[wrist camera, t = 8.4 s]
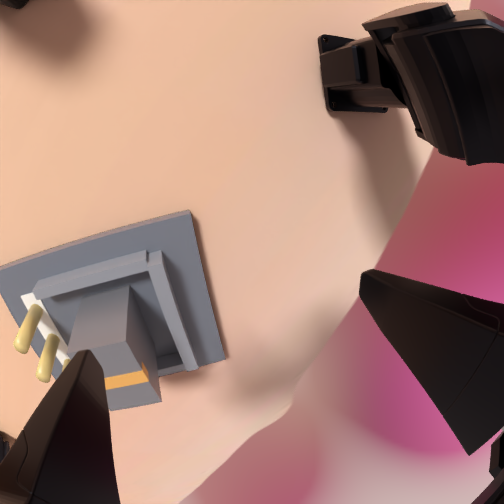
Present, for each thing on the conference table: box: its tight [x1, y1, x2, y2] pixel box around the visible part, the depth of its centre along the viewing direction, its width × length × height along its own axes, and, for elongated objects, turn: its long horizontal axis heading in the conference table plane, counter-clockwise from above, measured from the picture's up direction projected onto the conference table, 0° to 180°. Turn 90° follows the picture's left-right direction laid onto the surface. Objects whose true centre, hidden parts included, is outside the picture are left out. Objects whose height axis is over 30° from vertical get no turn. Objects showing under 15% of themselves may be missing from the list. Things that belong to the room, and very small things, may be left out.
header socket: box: [0, 210, 225, 383], centre depth 18 cm, size 17×14×6 cm
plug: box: [66, 285, 162, 411], centre depth 17 cm, size 4×6×6 cm
